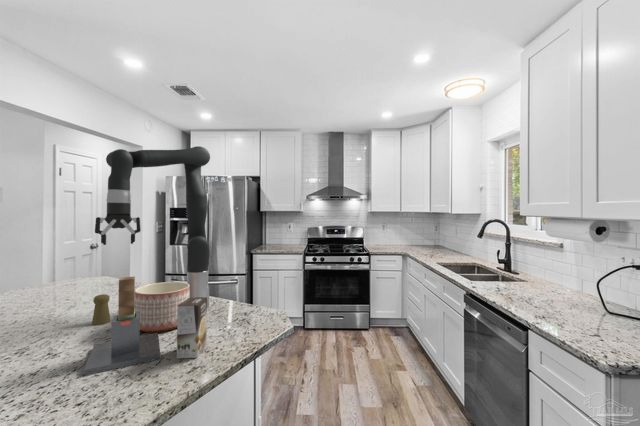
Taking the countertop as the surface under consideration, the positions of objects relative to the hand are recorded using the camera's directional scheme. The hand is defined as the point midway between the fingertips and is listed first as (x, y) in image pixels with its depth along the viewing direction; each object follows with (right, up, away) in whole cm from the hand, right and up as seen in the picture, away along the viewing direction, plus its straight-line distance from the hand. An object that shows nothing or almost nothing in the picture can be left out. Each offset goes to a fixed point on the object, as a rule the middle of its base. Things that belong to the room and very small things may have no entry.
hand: (118, 244), depth 110 cm
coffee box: (+37, -33, -19) cm, 52 cm away
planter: (+15, -33, +3) cm, 36 cm away
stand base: (+17, -32, -20) cm, 42 cm away
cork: (-11, -32, +5) cm, 34 cm away
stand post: (+17, -24, -20) cm, 36 cm away
